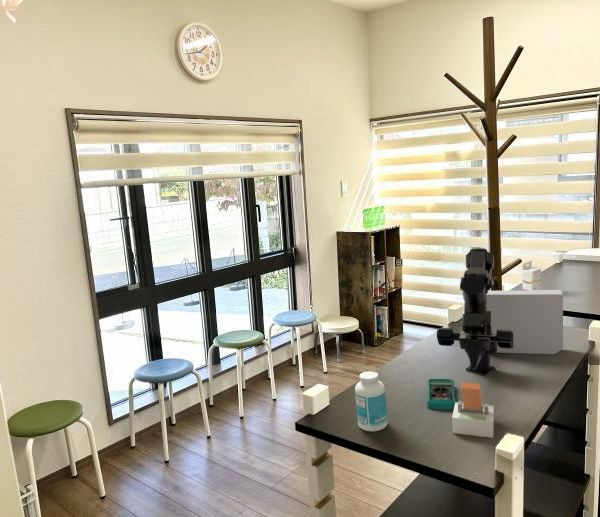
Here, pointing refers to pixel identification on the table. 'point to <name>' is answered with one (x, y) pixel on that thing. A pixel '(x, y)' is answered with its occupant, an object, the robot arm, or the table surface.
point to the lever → (471, 397)
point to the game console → (528, 319)
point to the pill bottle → (371, 402)
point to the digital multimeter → (441, 394)
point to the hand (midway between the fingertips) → (473, 368)
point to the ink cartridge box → (531, 277)
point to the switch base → (473, 421)
